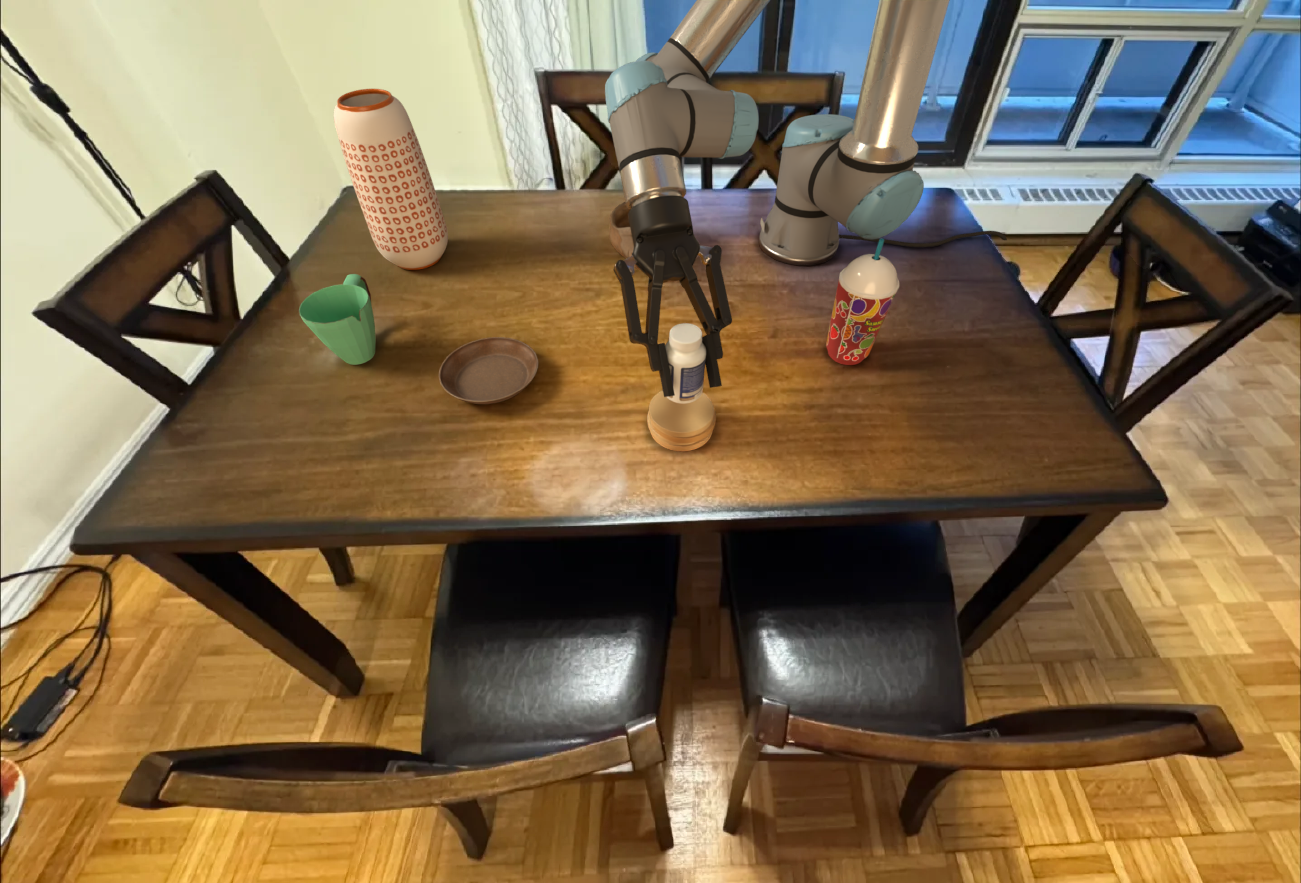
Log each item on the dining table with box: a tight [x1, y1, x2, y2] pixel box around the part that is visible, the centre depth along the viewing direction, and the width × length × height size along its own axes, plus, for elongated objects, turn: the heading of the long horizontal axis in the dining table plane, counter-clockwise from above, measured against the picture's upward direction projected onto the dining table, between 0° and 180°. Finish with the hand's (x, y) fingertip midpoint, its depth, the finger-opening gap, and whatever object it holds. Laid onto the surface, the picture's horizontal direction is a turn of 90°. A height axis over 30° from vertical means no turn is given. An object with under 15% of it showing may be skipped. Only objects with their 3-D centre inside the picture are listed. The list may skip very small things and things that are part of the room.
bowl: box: [608, 201, 642, 271], centre depth 110 cm, size 18×14×10 cm
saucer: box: [438, 336, 539, 405], centre depth 89 cm, size 15×15×3 cm
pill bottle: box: [665, 322, 706, 404], centre depth 75 cm, size 5×5×10 cm
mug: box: [298, 273, 377, 366], centre depth 92 cm, size 15×10×10 cm
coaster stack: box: [646, 389, 717, 452], centre depth 82 cm, size 10×10×4 cm
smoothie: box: [825, 237, 900, 366], centre depth 86 cm, size 8×8×20 cm
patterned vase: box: [333, 88, 449, 271], centre depth 103 cm, size 13×13×28 cm
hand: (692, 391), depth 73 cm, fingers closed on pill bottle, 5 cm apart
